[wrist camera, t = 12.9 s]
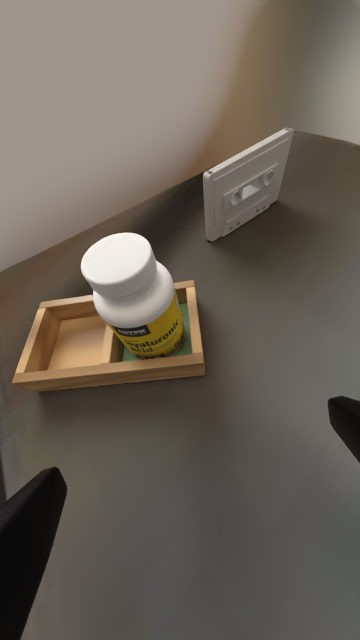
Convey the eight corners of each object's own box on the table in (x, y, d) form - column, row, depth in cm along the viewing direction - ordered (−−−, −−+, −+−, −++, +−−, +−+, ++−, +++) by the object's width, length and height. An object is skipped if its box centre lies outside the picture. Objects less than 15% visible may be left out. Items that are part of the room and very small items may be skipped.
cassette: (212, 245, 26) (211, 178, 20) (203, 238, 27) (198, 172, 21) (280, 201, 29) (299, 128, 22) (269, 196, 30) (284, 125, 23)
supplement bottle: (136, 373, 18) (68, 310, 10) (124, 324, 21) (64, 242, 13) (194, 350, 18) (177, 270, 10) (175, 304, 21) (148, 213, 13)
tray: (205, 375, 18) (203, 362, 15) (37, 392, 19) (11, 383, 17) (196, 299, 22) (193, 279, 20) (59, 317, 24) (40, 301, 21)
